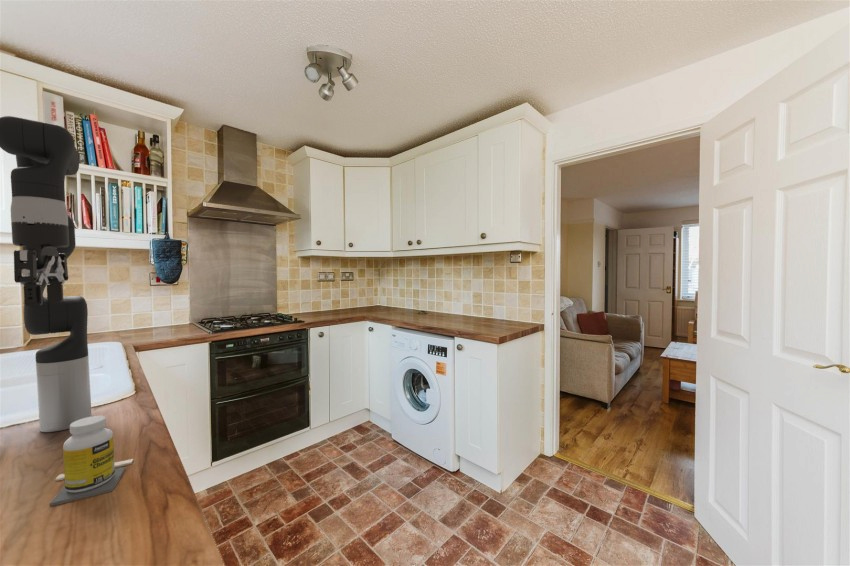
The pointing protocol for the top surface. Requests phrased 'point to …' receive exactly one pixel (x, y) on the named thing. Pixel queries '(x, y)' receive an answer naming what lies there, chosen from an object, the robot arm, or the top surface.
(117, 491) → the top surface
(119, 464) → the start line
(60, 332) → the robot arm
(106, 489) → the mat
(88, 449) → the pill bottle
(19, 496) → the top surface
